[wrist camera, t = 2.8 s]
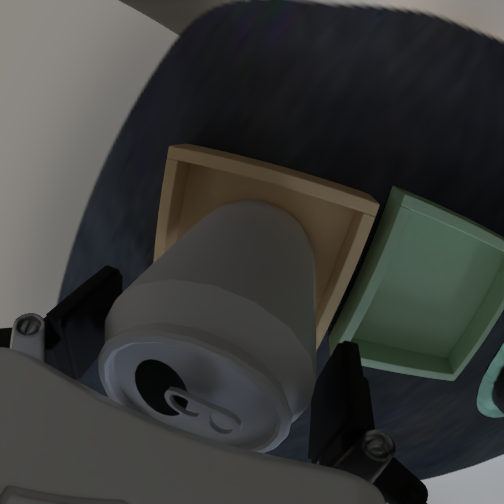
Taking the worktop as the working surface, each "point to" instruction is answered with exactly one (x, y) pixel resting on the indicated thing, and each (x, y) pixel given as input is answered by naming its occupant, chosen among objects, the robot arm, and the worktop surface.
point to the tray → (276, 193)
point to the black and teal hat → (493, 388)
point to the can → (220, 329)
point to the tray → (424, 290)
